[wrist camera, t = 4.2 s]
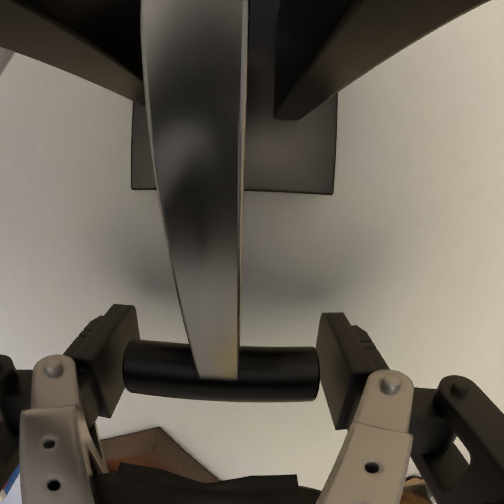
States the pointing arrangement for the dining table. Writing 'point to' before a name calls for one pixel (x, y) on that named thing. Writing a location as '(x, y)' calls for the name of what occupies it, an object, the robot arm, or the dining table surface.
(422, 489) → the vessel
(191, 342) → the switch
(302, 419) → the dining table surface
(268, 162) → the switch bracket
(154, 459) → the button block
